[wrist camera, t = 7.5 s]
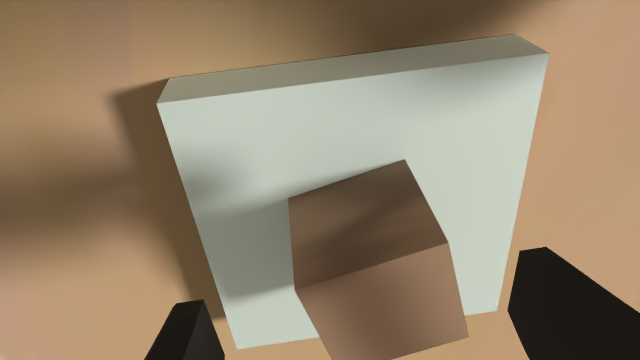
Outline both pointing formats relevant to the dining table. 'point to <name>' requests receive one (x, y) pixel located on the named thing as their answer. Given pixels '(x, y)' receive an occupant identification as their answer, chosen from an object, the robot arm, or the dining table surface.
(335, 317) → the walnut cube
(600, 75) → the dining table surface
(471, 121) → the base
